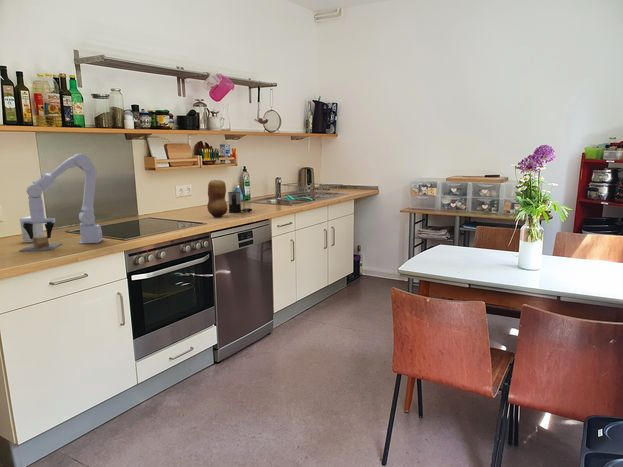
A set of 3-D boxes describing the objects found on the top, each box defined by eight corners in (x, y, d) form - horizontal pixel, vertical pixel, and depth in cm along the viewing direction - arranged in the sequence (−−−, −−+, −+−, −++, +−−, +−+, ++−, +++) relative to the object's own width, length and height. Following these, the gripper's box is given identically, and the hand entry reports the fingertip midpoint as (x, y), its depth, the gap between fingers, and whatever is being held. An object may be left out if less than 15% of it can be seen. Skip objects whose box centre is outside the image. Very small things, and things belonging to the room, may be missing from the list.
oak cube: (49, 246, 220) (47, 236, 220) (39, 248, 216) (38, 238, 216) (43, 245, 222) (41, 236, 222) (33, 247, 218) (32, 237, 218)
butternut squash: (229, 217, 305) (227, 180, 300) (209, 219, 300) (207, 181, 295) (225, 215, 317) (223, 179, 313) (206, 216, 312) (203, 179, 308)
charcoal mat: (62, 244, 227) (62, 243, 227) (51, 250, 214) (51, 248, 214) (32, 245, 225) (32, 244, 225) (19, 251, 212) (19, 250, 212)
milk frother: (227, 212, 334) (226, 191, 331) (248, 210, 340) (247, 190, 337) (232, 214, 321) (231, 193, 318) (253, 212, 327) (253, 192, 324)
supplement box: (45, 239, 240) (42, 215, 238) (37, 242, 233) (34, 217, 230) (30, 239, 240) (27, 216, 238) (22, 242, 233) (19, 218, 230)
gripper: (56, 208, 221) (59, 236, 224) (24, 209, 219) (27, 237, 222) (50, 210, 214) (54, 238, 217) (17, 211, 212) (21, 240, 215)
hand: (40, 238), depth 219 cm, fingers open, 7 cm apart
